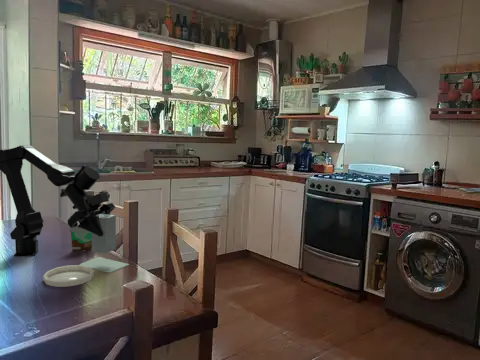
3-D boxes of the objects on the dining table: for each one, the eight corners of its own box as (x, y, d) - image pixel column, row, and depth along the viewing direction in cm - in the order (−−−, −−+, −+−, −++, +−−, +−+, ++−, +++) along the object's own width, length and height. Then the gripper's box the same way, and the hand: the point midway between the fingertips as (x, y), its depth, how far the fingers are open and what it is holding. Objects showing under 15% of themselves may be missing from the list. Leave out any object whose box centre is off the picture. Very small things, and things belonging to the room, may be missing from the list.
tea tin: (105, 253, 130) (105, 218, 128) (91, 251, 132) (91, 216, 130) (115, 249, 135) (115, 215, 134) (102, 247, 137) (102, 213, 135)
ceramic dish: (37, 288, 114) (37, 282, 114) (52, 271, 128) (52, 265, 128) (87, 287, 116) (87, 281, 116) (97, 270, 130) (97, 264, 130)
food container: (84, 253, 147) (84, 227, 145) (70, 252, 148) (69, 226, 146) (102, 244, 159) (102, 220, 157) (88, 243, 160) (88, 219, 158)
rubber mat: (79, 266, 133) (79, 264, 133) (98, 259, 141) (98, 257, 141) (110, 274, 127) (110, 272, 127) (129, 266, 135) (129, 264, 135)
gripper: (74, 187, 123) (104, 225, 121) (110, 180, 140) (137, 213, 139) (54, 208, 126) (83, 246, 124) (92, 199, 144) (118, 232, 142)
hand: (107, 233), depth 132 cm, fingers closed on tea tin, 5 cm apart
